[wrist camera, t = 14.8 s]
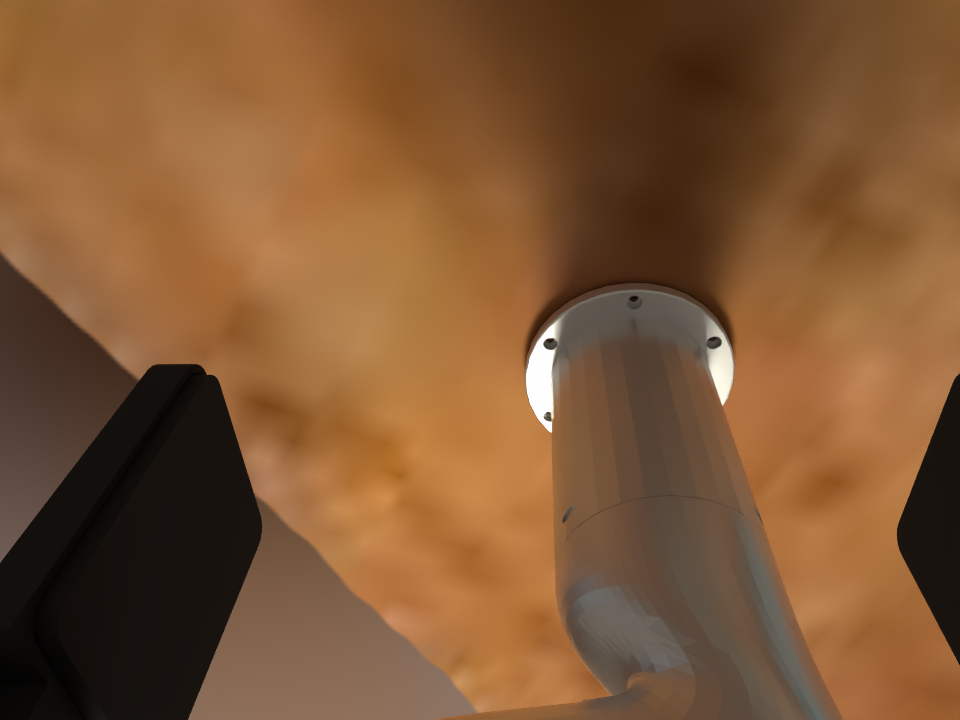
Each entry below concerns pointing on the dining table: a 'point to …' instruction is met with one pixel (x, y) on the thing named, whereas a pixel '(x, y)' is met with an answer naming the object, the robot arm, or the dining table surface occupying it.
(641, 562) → the robot arm
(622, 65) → the dining table surface
